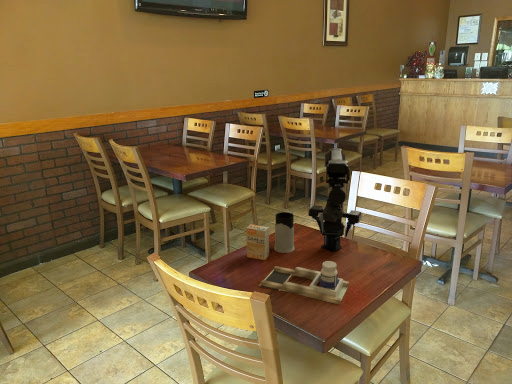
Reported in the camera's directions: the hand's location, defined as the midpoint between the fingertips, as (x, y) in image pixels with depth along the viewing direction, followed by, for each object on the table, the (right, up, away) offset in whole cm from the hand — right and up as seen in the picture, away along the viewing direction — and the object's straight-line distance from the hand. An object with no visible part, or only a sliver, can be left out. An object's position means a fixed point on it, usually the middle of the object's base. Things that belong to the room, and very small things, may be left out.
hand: (333, 235), depth 149 cm
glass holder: (-16, -7, +22) cm, 28 cm away
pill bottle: (-4, -18, -13) cm, 22 cm away
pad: (-3, -18, -13) cm, 23 cm away
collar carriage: (-5, -18, -12) cm, 22 cm away
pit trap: (-21, -15, -5) cm, 27 cm away
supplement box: (-28, -10, +13) cm, 33 cm away
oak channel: (-12, -17, -9) cm, 23 cm away
